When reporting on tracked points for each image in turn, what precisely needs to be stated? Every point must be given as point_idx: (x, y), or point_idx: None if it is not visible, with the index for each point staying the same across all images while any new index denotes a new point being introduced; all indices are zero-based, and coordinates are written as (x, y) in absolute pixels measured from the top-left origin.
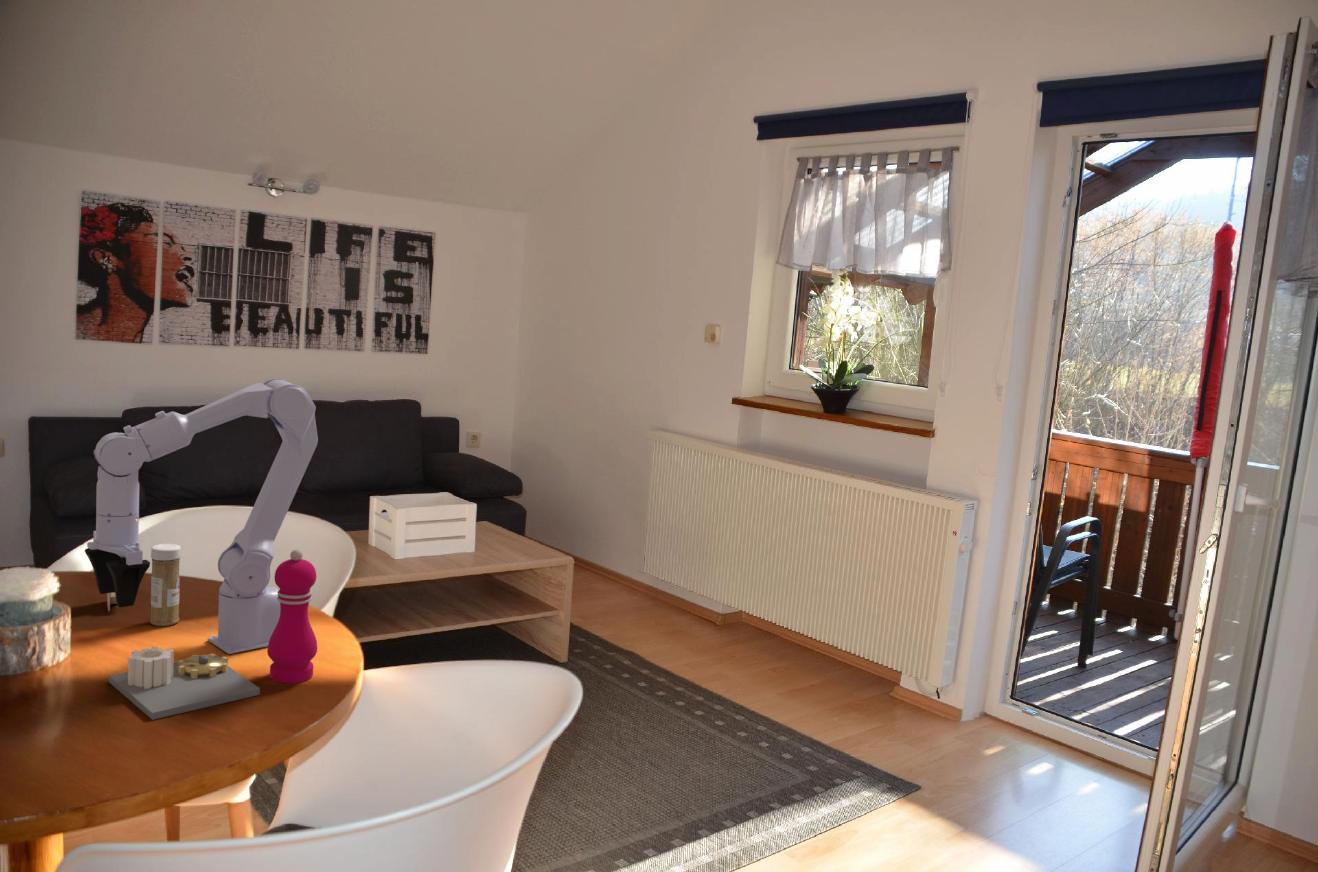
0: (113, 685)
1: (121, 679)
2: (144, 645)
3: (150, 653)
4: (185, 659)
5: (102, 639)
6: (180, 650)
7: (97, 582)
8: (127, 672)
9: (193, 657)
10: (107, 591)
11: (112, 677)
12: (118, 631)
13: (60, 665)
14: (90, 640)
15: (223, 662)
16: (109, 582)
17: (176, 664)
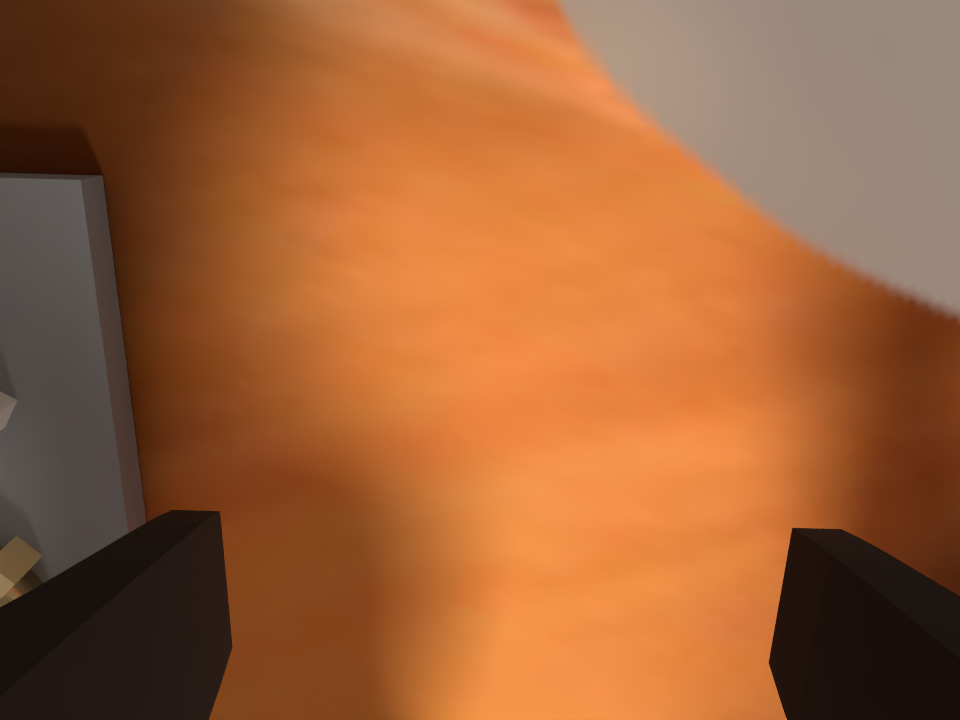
0: (20, 173)
1: None
2: (605, 552)
3: None
4: (4, 601)
5: (863, 411)
6: (414, 659)
7: (906, 589)
8: (83, 291)
9: None
10: (787, 604)
11: (33, 184)
12: (934, 530)
13: (560, 28)
14: (895, 349)
15: None
16: (839, 708)
17: (93, 553)
